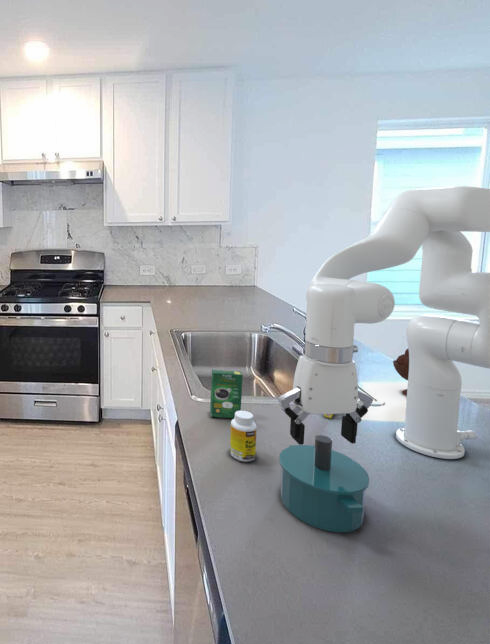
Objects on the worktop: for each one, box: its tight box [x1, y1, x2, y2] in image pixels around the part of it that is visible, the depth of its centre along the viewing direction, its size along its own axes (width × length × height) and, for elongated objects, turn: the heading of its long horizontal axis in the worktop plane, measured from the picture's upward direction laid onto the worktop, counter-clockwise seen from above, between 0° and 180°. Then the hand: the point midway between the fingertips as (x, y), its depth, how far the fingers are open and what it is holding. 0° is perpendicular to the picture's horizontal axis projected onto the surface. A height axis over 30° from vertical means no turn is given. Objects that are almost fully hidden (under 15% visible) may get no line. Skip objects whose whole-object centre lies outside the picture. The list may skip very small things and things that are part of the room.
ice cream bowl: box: [392, 348, 409, 397], centre depth 124 cm, size 11×11×15 cm
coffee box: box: [209, 369, 244, 420], centre depth 113 cm, size 8×3×13 cm, turn 79°
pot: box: [280, 444, 367, 533], centre depth 78 cm, size 14×19×8 cm
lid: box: [278, 434, 370, 495], centre depth 77 cm, size 15×15×7 cm
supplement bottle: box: [229, 410, 257, 463], centre depth 94 cm, size 6×6×10 cm
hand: (322, 440), depth 76 cm, fingers open, 9 cm apart
